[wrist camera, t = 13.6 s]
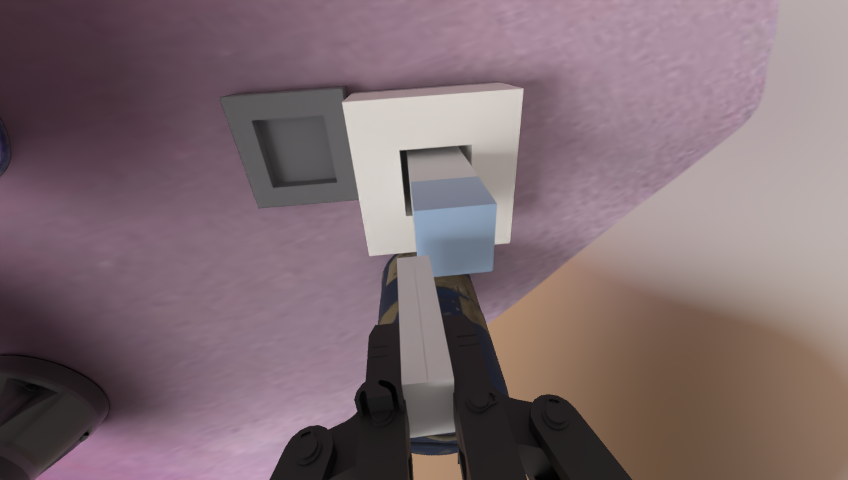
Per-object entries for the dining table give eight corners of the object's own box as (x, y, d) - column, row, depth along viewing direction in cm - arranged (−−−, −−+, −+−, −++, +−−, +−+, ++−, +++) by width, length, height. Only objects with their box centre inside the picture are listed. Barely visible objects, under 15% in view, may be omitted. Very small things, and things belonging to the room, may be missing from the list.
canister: (441, 315, 39) (471, 487, 23) (368, 291, 36) (348, 468, 21) (482, 254, 35) (551, 414, 19) (403, 223, 32) (410, 379, 17)
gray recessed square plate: (266, 199, 30) (258, 208, 28) (231, 94, 25) (219, 97, 24) (362, 191, 30) (360, 199, 28) (345, 86, 26) (341, 88, 24)
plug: (409, 185, 29) (419, 278, 17) (405, 141, 27) (413, 211, 15) (452, 182, 29) (492, 271, 17) (452, 137, 27) (497, 203, 15)
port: (373, 223, 32) (369, 256, 27) (352, 92, 26) (341, 102, 21) (491, 213, 32) (509, 243, 27) (498, 81, 26) (523, 88, 21)
